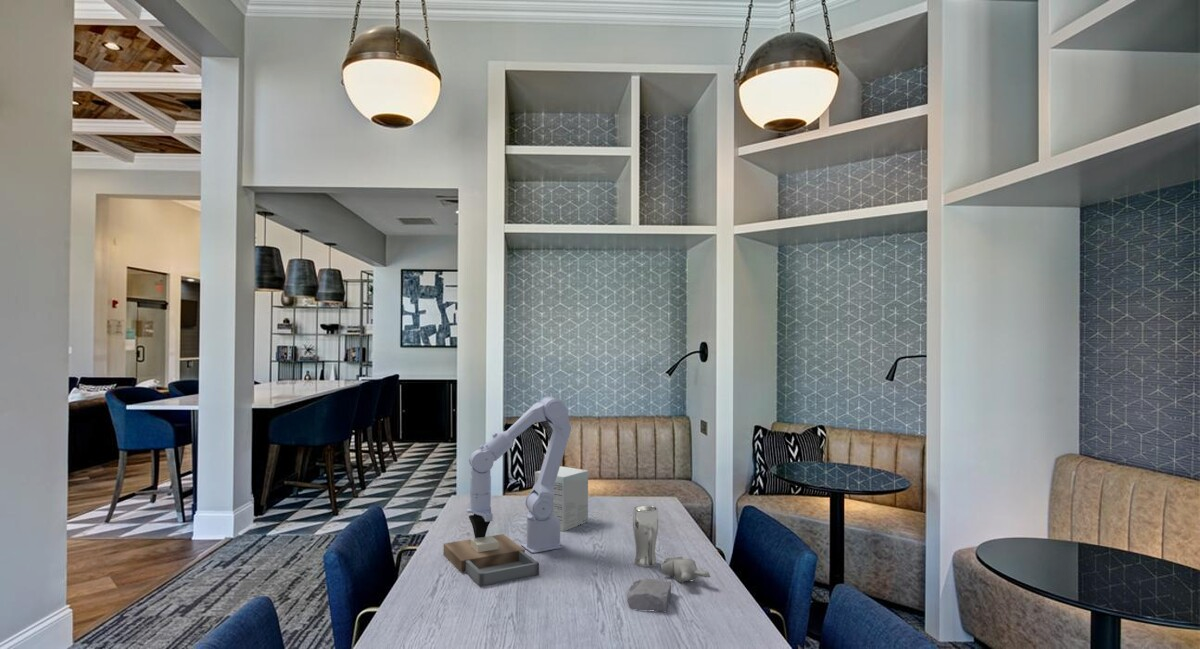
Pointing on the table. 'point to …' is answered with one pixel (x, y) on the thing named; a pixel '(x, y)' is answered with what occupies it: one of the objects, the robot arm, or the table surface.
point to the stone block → (649, 594)
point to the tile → (484, 544)
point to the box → (503, 571)
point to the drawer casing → (482, 553)
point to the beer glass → (645, 534)
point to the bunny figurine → (682, 569)
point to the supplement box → (570, 497)
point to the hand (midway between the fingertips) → (479, 540)
